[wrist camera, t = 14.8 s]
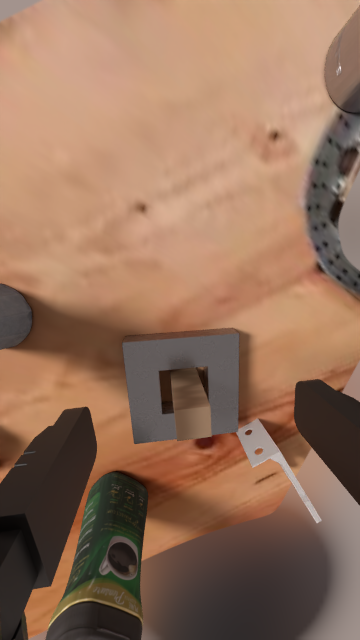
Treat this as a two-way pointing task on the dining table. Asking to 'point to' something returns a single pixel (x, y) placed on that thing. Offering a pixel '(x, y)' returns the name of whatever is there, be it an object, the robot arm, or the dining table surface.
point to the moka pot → (13, 317)
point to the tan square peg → (190, 405)
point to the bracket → (269, 456)
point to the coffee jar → (106, 566)
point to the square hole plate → (177, 353)
